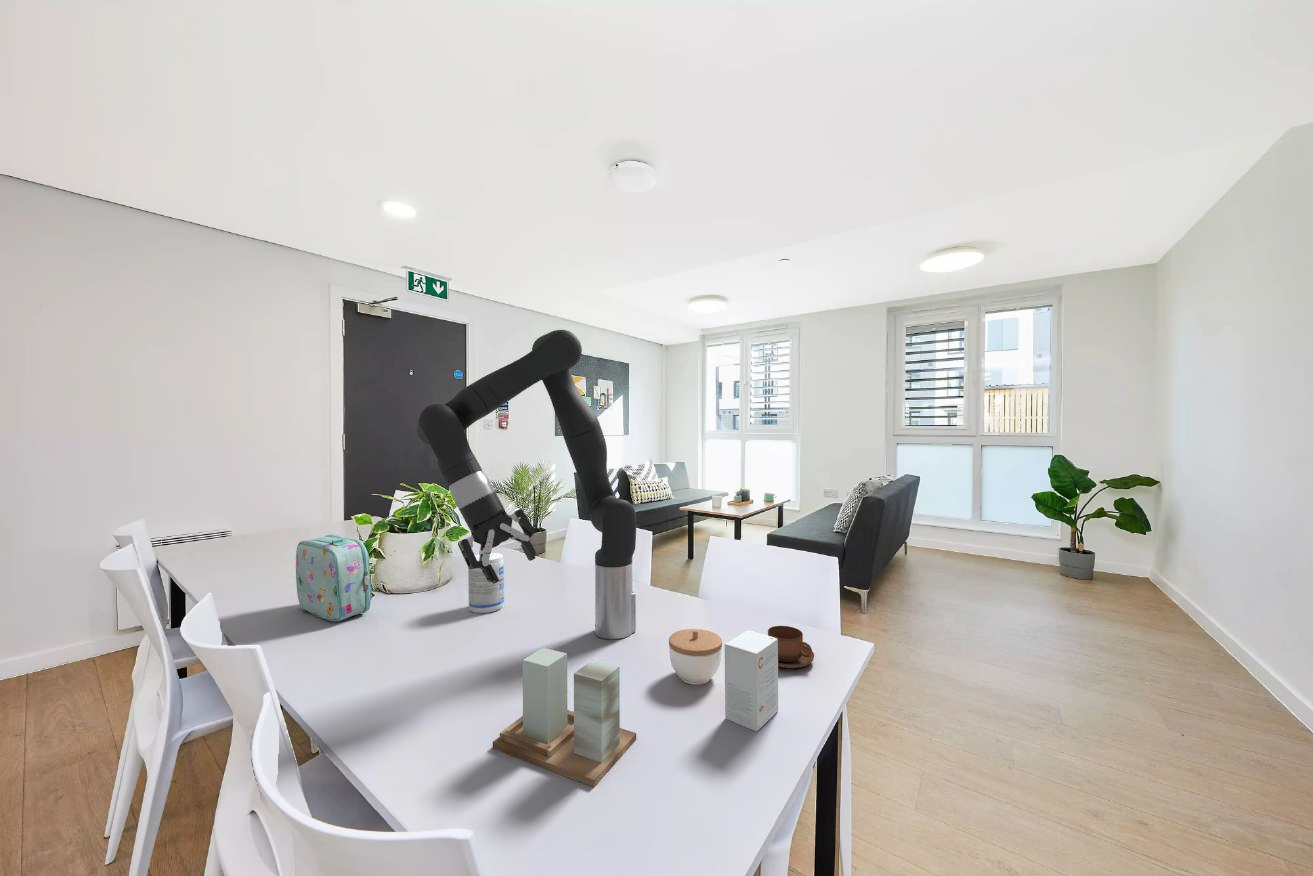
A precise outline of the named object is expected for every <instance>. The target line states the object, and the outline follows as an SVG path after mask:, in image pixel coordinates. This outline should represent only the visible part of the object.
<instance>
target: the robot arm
mask: <svg viewBox="0 0 1313 876" xmlns="http://www.w3.org/2000/svg"><path fill="white" fill-rule="evenodd" d="M582 351H583V349H582V343H581V341H580V339H579V338H578V336H577V335H576V334H574V333H573V332H571V331H570V330H566V329H556V330H552V331H549V332H547V333H546V334H543V335H541V336H539V337H538V338H536V339H535V340H534V342H533V344H532V347H531V351H530V352H528V353H526V354H525V355H524V356H522V357H520V358H518V359H516V360H515V361H513V362H511V363H508V364H507V365H505V366H503V367H500V368H498V369H497V370H494V371H492V372H490V373H489V374H487V375H484V376H482V377H481V378H479V379H477V380H475V381H474V382H472V383H470V384H469V385H467V386H465V387H464V388H462V389H461V390H459V391H458V392H457V393H456V395H454V396H453V398H451V400H449V401H447V402H446V403H444V404H443V403H432V404H430V405H428V406H426V407H425V408H424V409H422V410H421V412H420V414H419V416H418V420H417V423H416V433H417V436H418V438H419V439H420V440H421V441H422V443H424V444H426V445H427V446H428V445H429V446H430V448H431V449H432V451H433V453H434V455H435V456H436V460H437V467H438V469H439V472H440V474H441V476H442V478H443V479H444V482H445V483H446V485H447V487H448V488H449V491H450V493H451V498H452V500H453V501H454V503H455V507H456V508H458V511H459V512H460V514H461V516H462V518H463V520H464V521H465V523H466V525H467V527H468V529H469V531H470V534H471V536H470V537H469V536H468V537H467V538H463V539H461V540H459V541H458V543H457V545H458V548H459V551H460V552H461V555H462V557H463V559H464V561H465V564H466V565H467V569H468V568H469V569H471V570H472V569H476V568H480V569H481V570H482V571H483V573H484V575H485V577H486V579H487V581H488V582H492V583H493V584H495V583H497V582H499V579H498V577H497V575H496V573H495V571H494V569H493V568H492V566H491V564H490V565H489V558H490V554H491V553H492V550H493V549H494V548H496V547H498V546H499V545H500V544H501V543H504V542H507V541H508V540H512V541H513V540H514V541H516V542H518V543H520V544H521V545H520V547H521V549H522V550H523V552H524V555H525V557H526V558H527V560H528V561H529V562H531V561H533V560H535V559H536V556H537V552H536V550H535V548H534V546H533V545H532V543H531V537H533V535H534V534H536V530H535V528H534V526H533V525H532V523H531V520H529V518H528V516H527V515H526V514H525V512H524V510H523V509H522V508H519V509H516V510H515V511H513V513H511V514H508V513H507V511H506V508H505V507H504V505H503V503H502V501H501V500H500V497H499V496H498V494H497V492H496V490H495V488H494V487H493V485H492V483H491V481H490V480H489V478H488V476H487V474H486V473H484V470H483V469H482V467H481V465H480V463H479V461H478V459H477V458H476V456H475V454H474V452H473V451H472V449H471V447H470V443H469V440H468V437H467V435H466V433H465V432H466V429H468V428H469V427H471V426H472V425H473V424H474V423H475V422H477V421H479V420H481V419H483V418H485V417H486V416H487V415H489V414H491V413H493V412H494V411H496V410H498V409H499V408H500V407H502V406H504V404H506V403H508V402H509V401H511V400H512V399H513V398H515V397H517V396H518V395H520V394H522V392H524V391H526V390H527V389H529V388H530V387H532V386H533V385H535V384H537V383H538V382H540V381H542V384H543V385H544V388H545V389H546V392H547V394H548V396H549V398H550V399H549V400H550V401H551V405H552V408H553V411H554V413H555V415H556V419H557V421H558V424H559V427H560V430H561V434H562V436H563V440H564V442H565V443H564V444H565V445H566V448H567V450H568V453H569V456H570V458H571V461H572V464H573V466H574V469H575V472H576V474H577V477H578V479H579V482H580V484H581V485H580V486H581V487H582V488H581V489H582V491H583V495H584V499H585V503H586V506H587V513H588V516H589V519H590V523H591V525H592V526H593V528H594V529H596V530H597V531H598V532H600V533H601V547H600V548H599V549H598V550H596V552H595V554H594V602H595V603H594V609H595V610H594V611H595V612H594V622H595V623H594V633H595V635H596V636H597V637H599V638H601V639H605V640H619V639H623V638H627V637H629V636H631V635H632V634H633V633H636V631H637V618H636V617H637V612H636V611H637V610H636V609H637V604H636V603H637V601H636V600H637V599H636V598H637V594H636V592H634V591H633V556H634V553H635V550H636V543H637V542H636V541H637V513H636V509H635V507H634V506H633V504H632V503H631V502H629V501H627V500H625V499H622V498H618V497H617V496H616V495H615V492H614V490H613V488H612V484H611V482H610V479H609V476H608V475H609V474H608V469H607V468H608V467H607V465H608V449H607V447H608V446H607V442H606V438H605V435H604V432H603V429H602V426H601V424H600V421H599V419H598V417H597V415H596V414H595V412H594V411H593V409H592V408H591V406H590V405H589V403H587V401H586V400H585V399H584V398H583V396H582V394H581V393H580V392H579V390H578V388H577V386H576V384H575V381H574V378H573V375H572V372H571V369H572V368H573V367H575V366H576V365H577V364H578V362H579V360H580V359H581V357H582V354H583V353H582ZM513 521H514V522H515V523H518V525H519V527H520V528H521V530H522V532H521V531H520V530H519V529H516V528H514V527H513ZM474 542H475V543H477V544H478V545H480V547H479V553H478V554H479V555H480V556H479V561H477V559H476V557H475V555H476V554H475V553H474V551H473V547H474V544H473V543H474Z"/></svg>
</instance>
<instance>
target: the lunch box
mask: <svg viewBox="0 0 1313 876" xmlns="http://www.w3.org/2000/svg"><path fill="white" fill-rule="evenodd" d="M370 570H371V569H370V556H369V552H368V550H367V547H366V546H365V544H364V543H362V542H361V541H360V540H358V539H353V538H346V537H342V536H340V535H337V534H332V533H331V534H327V535H324V536H320V537H316V538H311V539H307V540H301V541H299V542H298V543H297V547H296V554H295V581H296V583H295V584H296V591H297V592H296V595H297V600H298V603H299V606H300V608H301V609H303V610H304V611H306V612H308V613H311V614H312V615H314V616H315V617H316V618H321V619H324V620H327V621H330V622H334V623H335V622H340V621H343V620H346V619H348V618H351V617H353V616H356V615H359V614H365V613H367V612H368V611H369V610H370V607H371V603H372V602H371V601H372V599H373V594H372V584H371V574H370V573H371V572H370Z"/></svg>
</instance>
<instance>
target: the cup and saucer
mask: <svg viewBox="0 0 1313 876" xmlns="http://www.w3.org/2000/svg"><path fill="white" fill-rule="evenodd" d="M767 635H768V636H771V637H774V638H777V639H778V668H783V669H799V668H803V667H806V666H809V665H810V663H812V662H813V661H814V659H815V653H814V652H813V649H812V647H811V645H810V644H809V643H807V642H806V641H803V640H804V639H803V638H804V633H803V631H802V630H800V629H798V628H796V627H792V626H789V625H775V626H772V627H769V628H768V629H767Z"/></svg>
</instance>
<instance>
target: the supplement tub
mask: <svg viewBox="0 0 1313 876" xmlns="http://www.w3.org/2000/svg"><path fill="white" fill-rule="evenodd" d="M474 555H475V557H476V559H477V561H479V556H480V555H479V553H478V554H474ZM504 563H505V562H504V555H503V554H502V553H498V552H491V554H490V558H489V565H490V564H491V566H492V568H493V569H494V571H495V573H496V575H497V577H498V579H499V582H497V583H495V584H493V583H492V582H488V581H487V579H486V577H485V575H484V573H483V571H482V570H481V569H480V568H476V569H472V570H471V569H469V568H468V567H467V570H468V571H467V572H468V573H467V574H468V575H467V576H468V577H467V578H468V579H467V580H468V581H467V582H468V584H467V585H468V609H469V611H470V612H473V613H476V614H486V613H492V612H495V611H496V612H497V611H498V610H501V609H502V608H503V607H504V605H505V570H504V569H505V566H504V565H505V564H504Z"/></svg>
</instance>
